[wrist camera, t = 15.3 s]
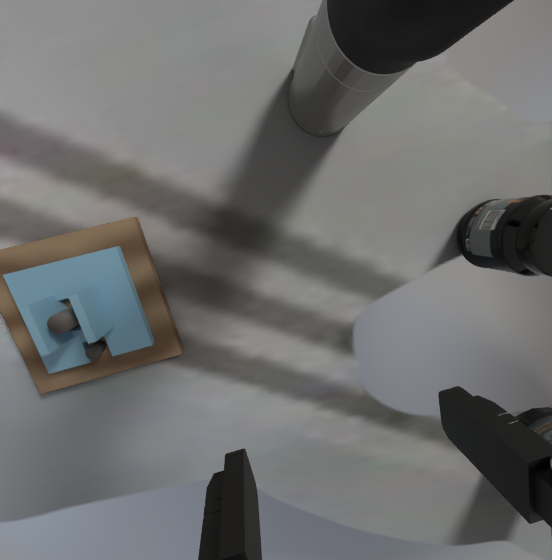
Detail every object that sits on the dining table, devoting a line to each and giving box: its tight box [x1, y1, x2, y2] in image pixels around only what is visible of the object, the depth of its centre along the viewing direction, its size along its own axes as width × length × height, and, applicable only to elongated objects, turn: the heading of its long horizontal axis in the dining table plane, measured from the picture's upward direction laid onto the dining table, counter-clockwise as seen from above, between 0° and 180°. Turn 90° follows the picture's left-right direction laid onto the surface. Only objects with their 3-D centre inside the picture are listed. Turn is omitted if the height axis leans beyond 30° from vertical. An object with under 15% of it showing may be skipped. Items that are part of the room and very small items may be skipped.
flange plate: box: [3, 246, 155, 374], centre depth 36 cm, size 14×14×6 cm
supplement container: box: [458, 195, 552, 277], centre depth 40 cm, size 10×10×12 cm
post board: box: [0, 217, 183, 394], centre depth 37 cm, size 20×20×8 cm
